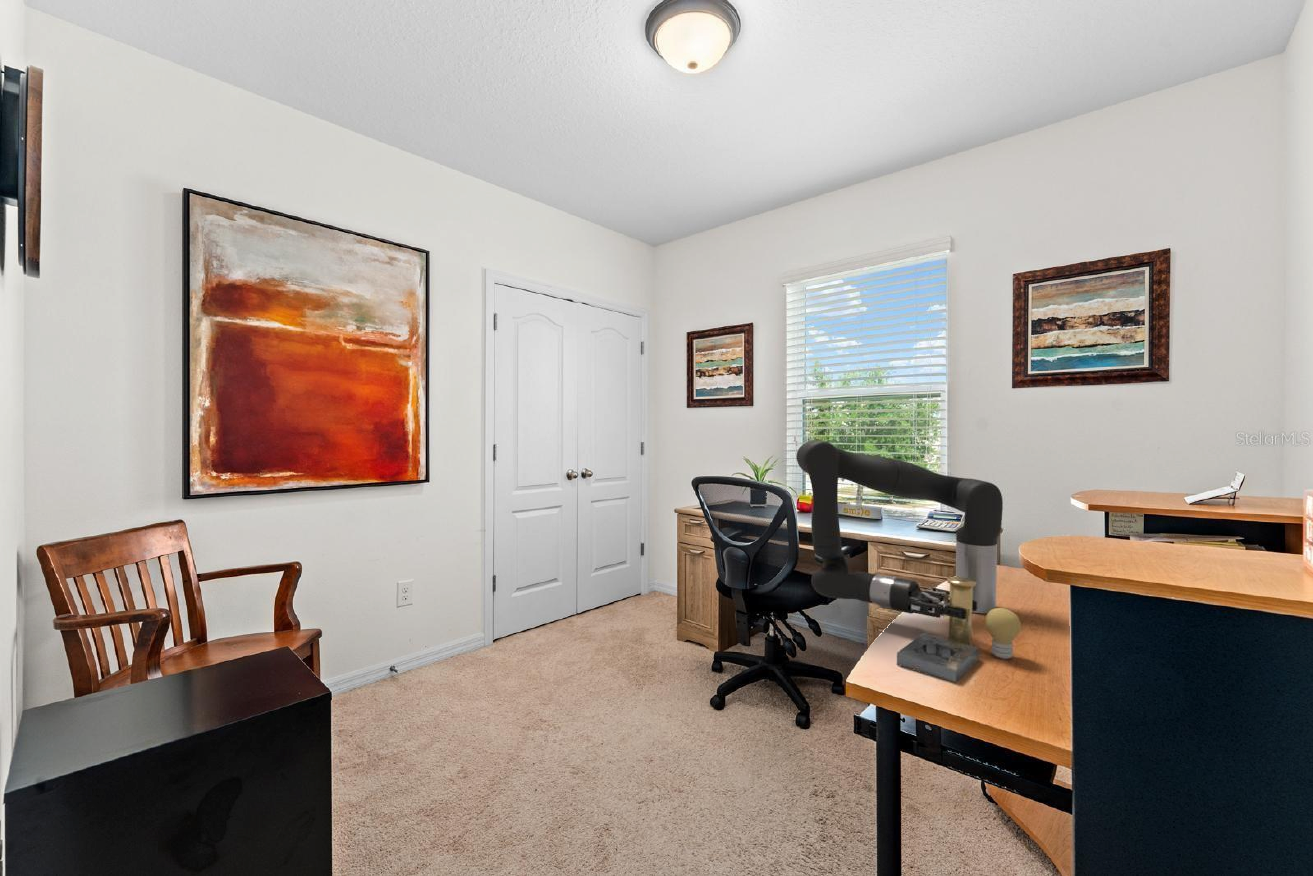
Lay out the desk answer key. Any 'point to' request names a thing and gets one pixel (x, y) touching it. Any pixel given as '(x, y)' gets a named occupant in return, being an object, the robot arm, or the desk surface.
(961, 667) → the jig
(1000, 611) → the light bulb
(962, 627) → the rivet
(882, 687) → the desk surface
